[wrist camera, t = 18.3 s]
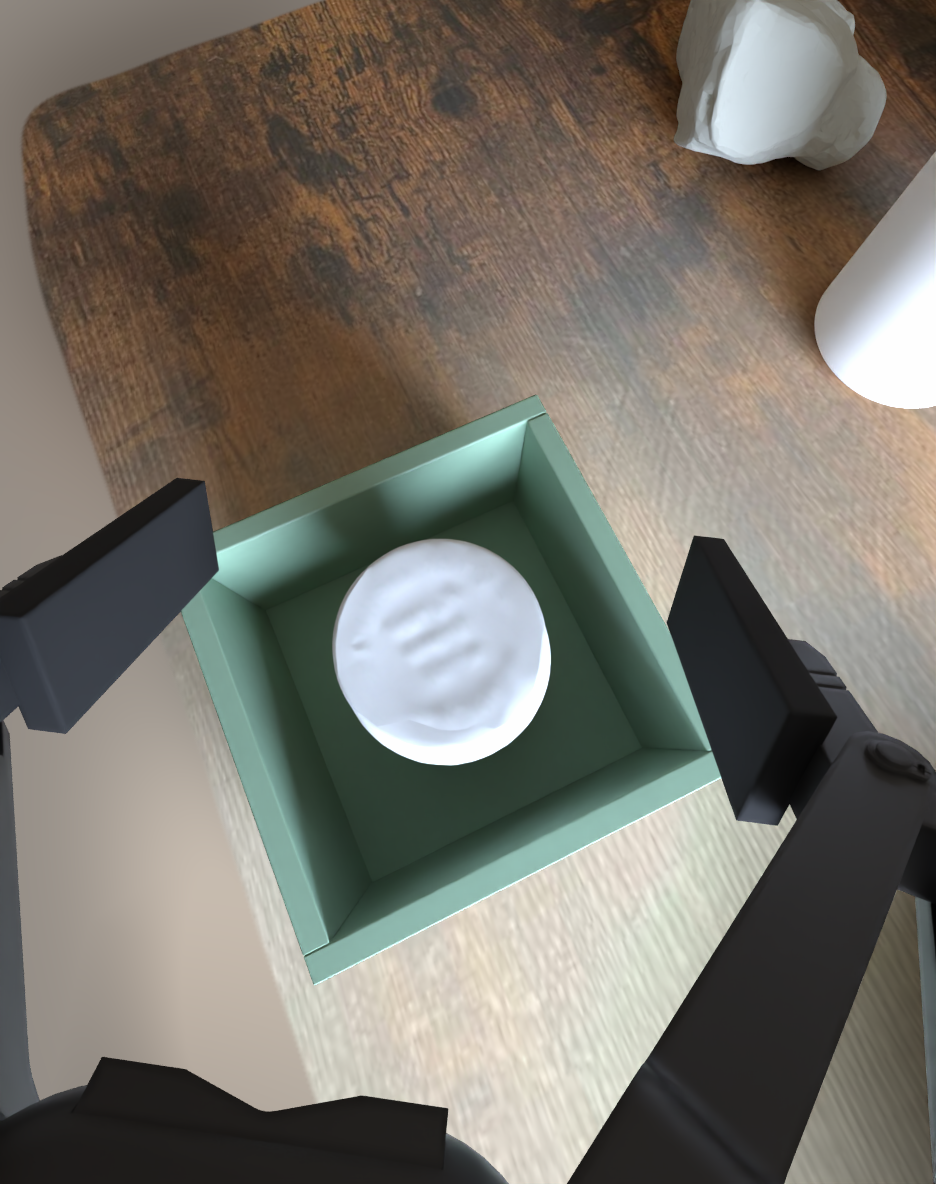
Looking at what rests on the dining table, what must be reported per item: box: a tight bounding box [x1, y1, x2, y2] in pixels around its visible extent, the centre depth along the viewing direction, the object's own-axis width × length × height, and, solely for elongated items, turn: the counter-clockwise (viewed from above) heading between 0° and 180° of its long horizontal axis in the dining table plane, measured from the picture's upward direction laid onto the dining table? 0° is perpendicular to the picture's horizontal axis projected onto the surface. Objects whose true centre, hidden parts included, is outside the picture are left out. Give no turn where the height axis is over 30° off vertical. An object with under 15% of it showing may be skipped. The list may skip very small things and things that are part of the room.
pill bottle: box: [332, 539, 551, 765], centre depth 19 cm, size 6×6×11 cm
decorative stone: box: [674, 0, 886, 170], centre depth 29 cm, size 11×9×10 cm
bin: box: [181, 395, 721, 985], centre depth 22 cm, size 14×14×8 cm
